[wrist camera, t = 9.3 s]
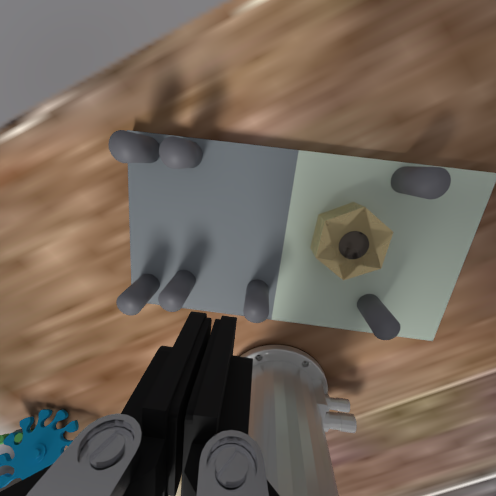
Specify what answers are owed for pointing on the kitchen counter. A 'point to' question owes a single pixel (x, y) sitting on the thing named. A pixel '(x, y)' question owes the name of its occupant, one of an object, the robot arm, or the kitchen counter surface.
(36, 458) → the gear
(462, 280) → the kitchen counter surface
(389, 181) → the spacer board
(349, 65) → the kitchen counter surface
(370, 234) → the nut
